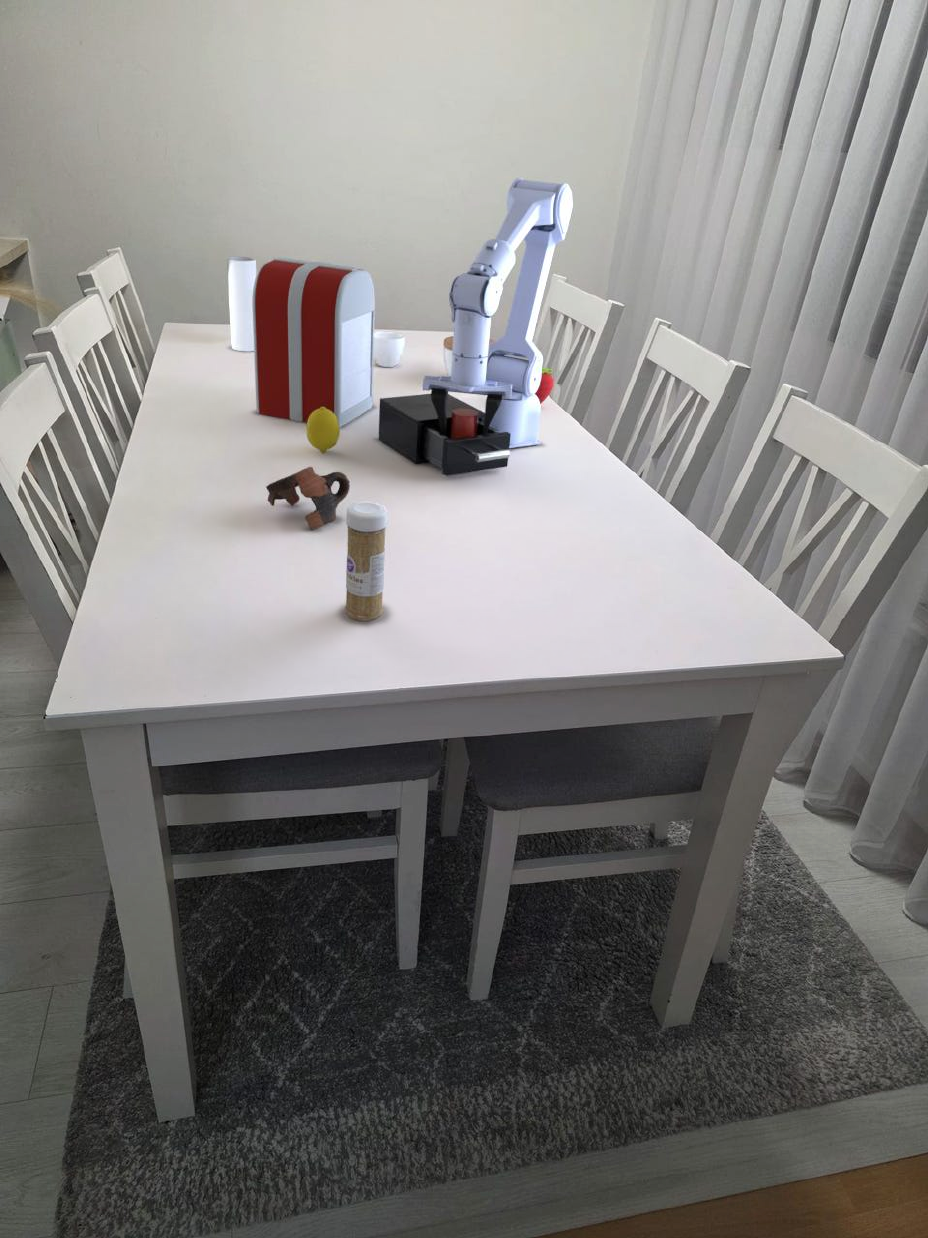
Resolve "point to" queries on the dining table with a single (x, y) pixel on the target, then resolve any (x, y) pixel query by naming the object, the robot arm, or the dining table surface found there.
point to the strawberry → (545, 384)
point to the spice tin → (464, 423)
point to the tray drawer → (464, 449)
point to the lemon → (323, 429)
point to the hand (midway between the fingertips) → (463, 435)
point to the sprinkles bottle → (365, 560)
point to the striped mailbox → (313, 339)
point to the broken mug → (312, 493)
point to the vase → (241, 301)
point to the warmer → (412, 422)
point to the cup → (388, 348)
